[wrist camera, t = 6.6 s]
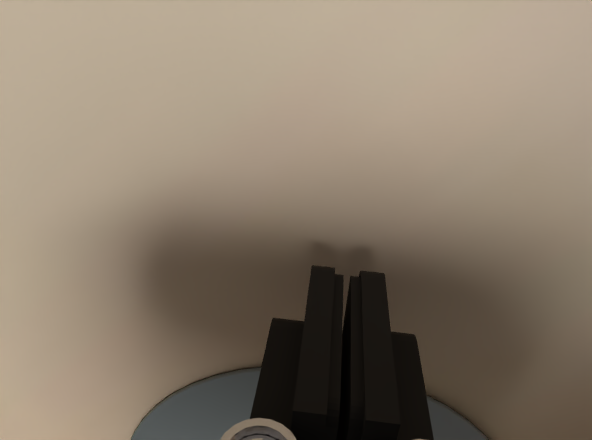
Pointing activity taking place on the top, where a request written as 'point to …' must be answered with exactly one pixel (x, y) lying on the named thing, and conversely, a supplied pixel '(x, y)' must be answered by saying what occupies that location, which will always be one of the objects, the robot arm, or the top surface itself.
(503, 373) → the top surface
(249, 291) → the top surface
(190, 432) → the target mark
